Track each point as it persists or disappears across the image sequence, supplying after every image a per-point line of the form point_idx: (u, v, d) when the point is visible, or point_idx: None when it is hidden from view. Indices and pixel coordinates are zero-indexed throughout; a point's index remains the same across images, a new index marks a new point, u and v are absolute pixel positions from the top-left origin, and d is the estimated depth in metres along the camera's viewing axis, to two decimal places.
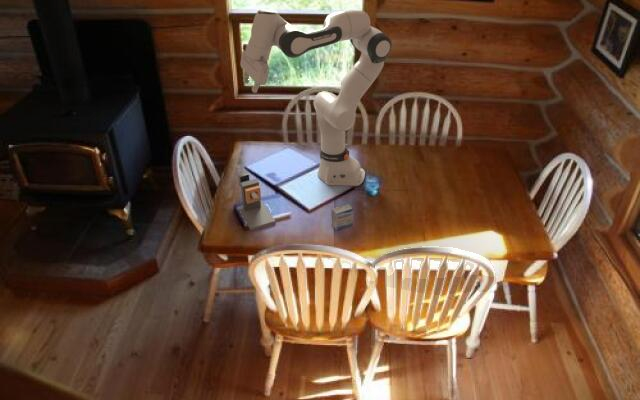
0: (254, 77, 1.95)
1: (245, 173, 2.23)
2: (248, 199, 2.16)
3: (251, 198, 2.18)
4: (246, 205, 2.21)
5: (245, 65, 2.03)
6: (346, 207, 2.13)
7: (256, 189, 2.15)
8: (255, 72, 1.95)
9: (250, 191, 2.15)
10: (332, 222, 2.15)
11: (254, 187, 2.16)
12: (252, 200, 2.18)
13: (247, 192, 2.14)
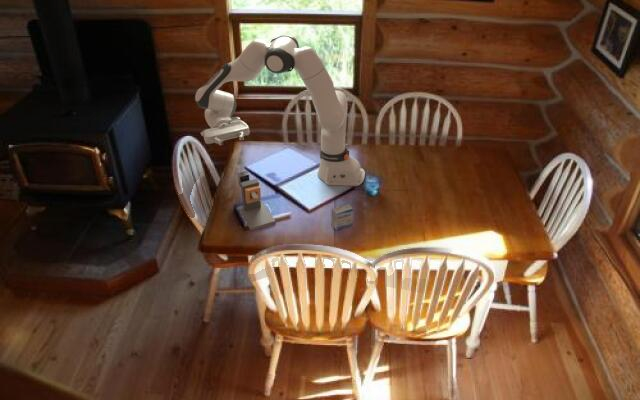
0: None
1: (245, 173, 2.23)
2: (248, 199, 2.16)
3: (251, 198, 2.18)
4: (246, 205, 2.21)
5: None
6: (346, 207, 2.13)
7: (256, 189, 2.16)
8: None
9: (250, 191, 2.15)
10: (332, 222, 2.15)
11: (254, 187, 2.16)
12: (252, 200, 2.18)
13: (247, 192, 2.14)
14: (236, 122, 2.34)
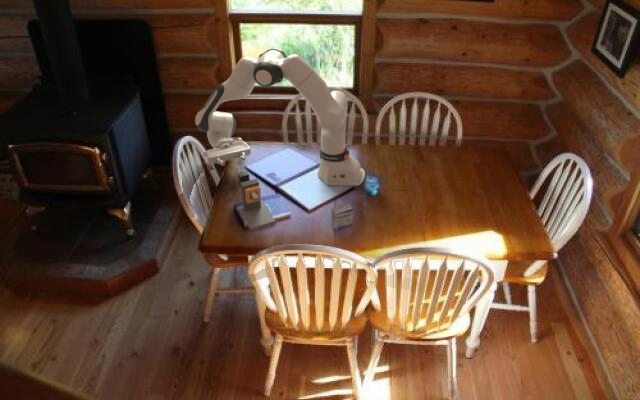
0: None
1: (245, 173, 2.23)
2: (248, 199, 2.16)
3: (251, 198, 2.18)
4: (246, 205, 2.21)
5: None
6: (346, 207, 2.13)
7: (256, 189, 2.16)
8: None
9: (250, 191, 2.15)
10: (332, 222, 2.15)
11: (254, 187, 2.16)
12: (252, 200, 2.18)
13: (247, 192, 2.14)
14: (238, 142, 2.41)
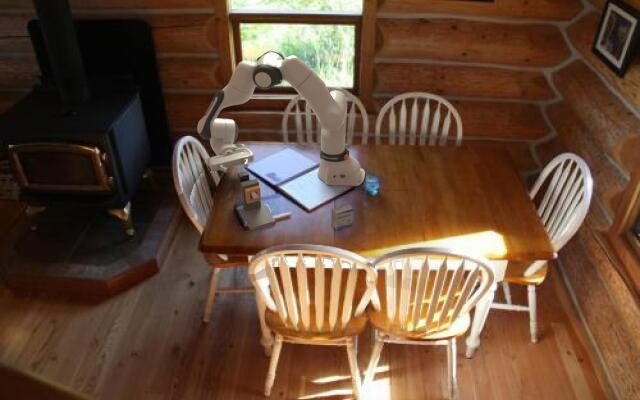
0: None
1: (245, 173, 2.23)
2: (248, 199, 2.16)
3: (251, 198, 2.18)
4: (246, 205, 2.21)
5: None
6: (346, 207, 2.13)
7: (256, 189, 2.15)
8: None
9: (250, 191, 2.15)
10: (332, 222, 2.15)
11: (254, 187, 2.16)
12: (252, 200, 2.18)
13: (247, 192, 2.14)
14: (241, 149, 2.40)
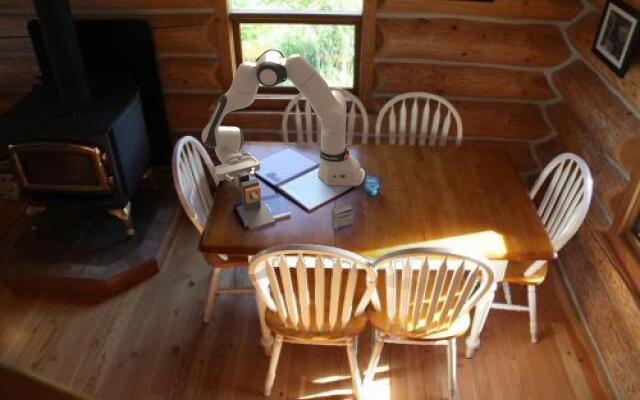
0: None
1: (245, 173, 2.23)
2: (248, 199, 2.16)
3: (251, 198, 2.18)
4: (246, 205, 2.21)
5: None
6: (346, 207, 2.13)
7: (256, 189, 2.15)
8: None
9: (250, 191, 2.15)
10: (332, 222, 2.15)
11: (254, 187, 2.16)
12: (252, 200, 2.18)
13: (247, 192, 2.14)
14: (247, 157, 2.34)
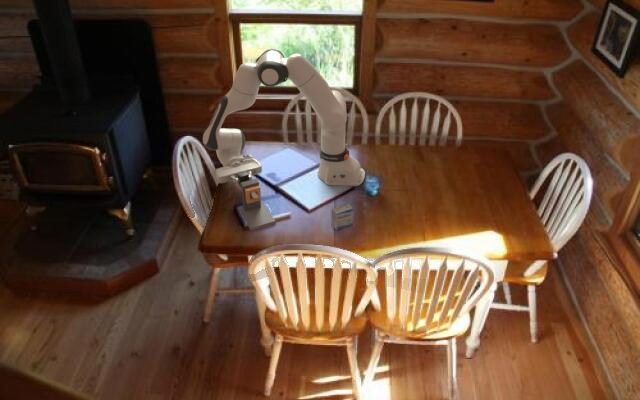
0: None
1: (245, 173, 2.23)
2: (248, 199, 2.16)
3: (251, 198, 2.18)
4: (246, 205, 2.21)
5: None
6: (346, 207, 2.13)
7: (256, 189, 2.15)
8: None
9: (250, 191, 2.15)
10: (332, 222, 2.15)
11: (254, 187, 2.16)
12: (252, 200, 2.18)
13: (247, 192, 2.14)
14: (249, 160, 2.33)
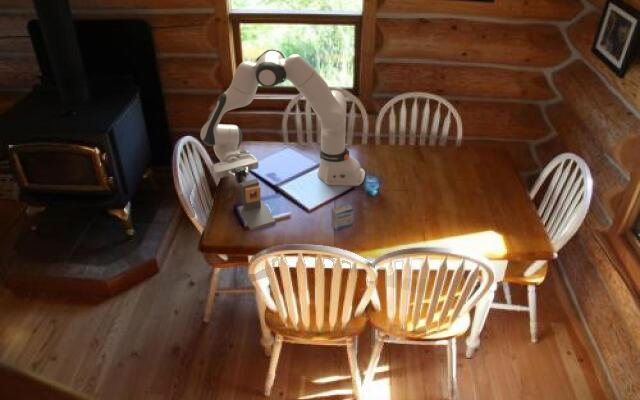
0: None
1: (242, 168, 2.26)
2: (248, 198, 2.17)
3: (251, 198, 2.18)
4: (246, 205, 2.21)
5: None
6: (346, 207, 2.13)
7: (256, 189, 2.16)
8: None
9: (250, 190, 2.15)
10: (332, 222, 2.15)
11: (254, 187, 2.16)
12: (252, 200, 2.18)
13: (247, 191, 2.14)
14: (245, 155, 2.36)
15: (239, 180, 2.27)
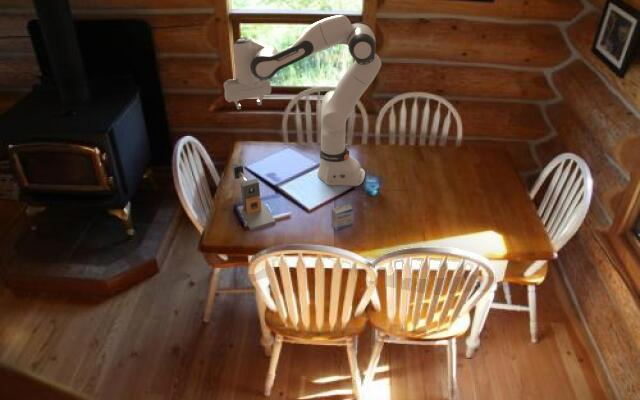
0: None
1: (239, 164, 2.29)
2: (249, 209, 2.20)
3: (252, 208, 2.21)
4: None
5: None
6: (346, 207, 2.13)
7: (257, 199, 2.19)
8: None
9: (251, 202, 2.18)
10: (332, 222, 2.15)
11: (255, 197, 2.19)
12: (253, 210, 2.21)
13: (248, 203, 2.18)
14: (263, 82, 2.21)
15: (236, 176, 2.30)
